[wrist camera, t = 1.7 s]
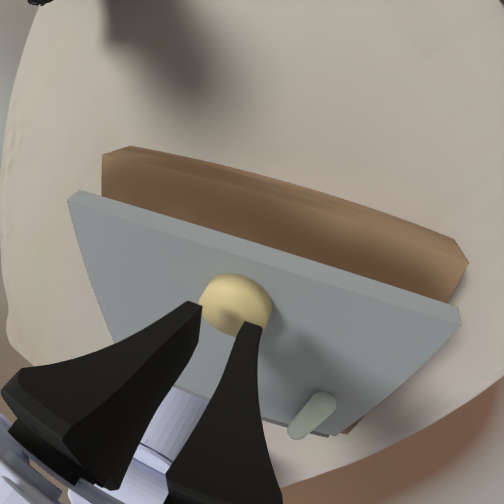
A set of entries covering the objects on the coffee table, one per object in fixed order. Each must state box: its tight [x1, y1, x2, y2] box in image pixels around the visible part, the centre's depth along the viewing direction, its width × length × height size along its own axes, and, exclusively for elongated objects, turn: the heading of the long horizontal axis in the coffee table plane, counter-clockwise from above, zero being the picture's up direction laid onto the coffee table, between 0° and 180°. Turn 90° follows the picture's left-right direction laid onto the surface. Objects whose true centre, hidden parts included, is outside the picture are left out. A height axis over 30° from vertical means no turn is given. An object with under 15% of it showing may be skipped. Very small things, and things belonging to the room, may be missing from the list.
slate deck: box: [67, 190, 461, 440], centre depth 17 cm, size 17×19×3 cm
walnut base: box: [102, 146, 469, 434], centre depth 21 cm, size 18×22×3 cm
